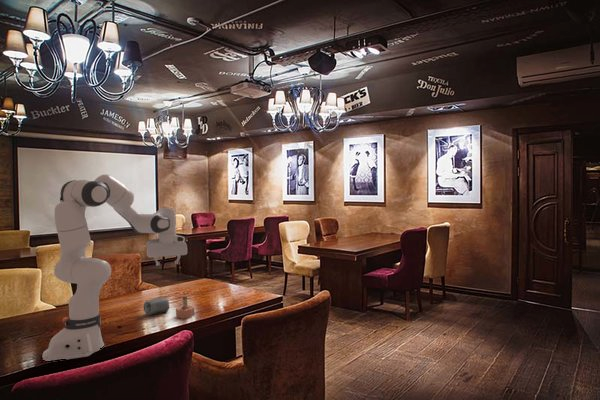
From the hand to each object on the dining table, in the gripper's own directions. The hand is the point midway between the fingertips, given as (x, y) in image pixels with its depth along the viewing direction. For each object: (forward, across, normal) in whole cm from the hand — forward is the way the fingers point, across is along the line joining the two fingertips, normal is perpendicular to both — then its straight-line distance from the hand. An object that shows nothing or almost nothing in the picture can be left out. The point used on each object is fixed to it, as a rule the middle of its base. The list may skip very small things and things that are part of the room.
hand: (167, 264), depth 206 cm
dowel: (+28, +9, 0) cm, 29 cm away
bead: (+28, +9, 0) cm, 29 cm away
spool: (+28, -3, +13) cm, 31 cm away
